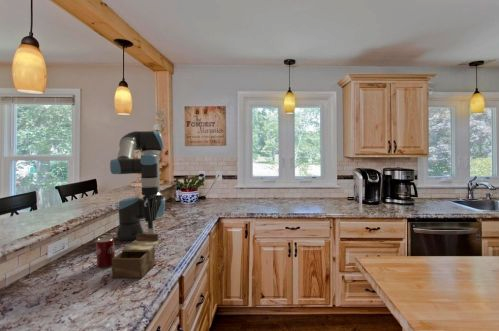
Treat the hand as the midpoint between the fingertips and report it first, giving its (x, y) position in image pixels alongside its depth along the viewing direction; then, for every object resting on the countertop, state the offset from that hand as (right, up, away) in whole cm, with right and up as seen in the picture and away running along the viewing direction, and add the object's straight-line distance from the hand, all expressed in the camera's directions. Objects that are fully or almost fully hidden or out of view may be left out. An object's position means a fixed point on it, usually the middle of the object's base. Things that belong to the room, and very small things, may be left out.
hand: (151, 234), depth 142 cm
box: (-1, -12, -18) cm, 22 cm away
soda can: (-17, -12, -11) cm, 23 cm away
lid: (-1, -3, -11) cm, 11 cm away
